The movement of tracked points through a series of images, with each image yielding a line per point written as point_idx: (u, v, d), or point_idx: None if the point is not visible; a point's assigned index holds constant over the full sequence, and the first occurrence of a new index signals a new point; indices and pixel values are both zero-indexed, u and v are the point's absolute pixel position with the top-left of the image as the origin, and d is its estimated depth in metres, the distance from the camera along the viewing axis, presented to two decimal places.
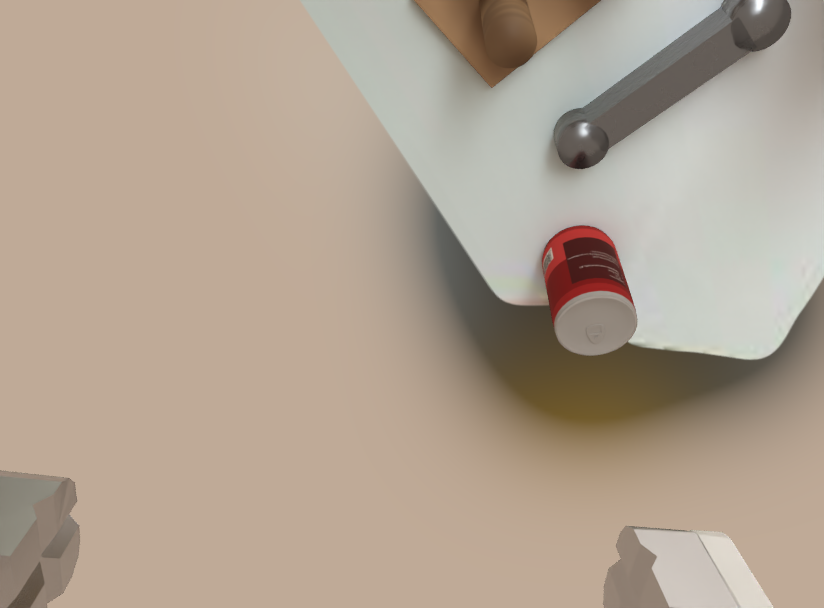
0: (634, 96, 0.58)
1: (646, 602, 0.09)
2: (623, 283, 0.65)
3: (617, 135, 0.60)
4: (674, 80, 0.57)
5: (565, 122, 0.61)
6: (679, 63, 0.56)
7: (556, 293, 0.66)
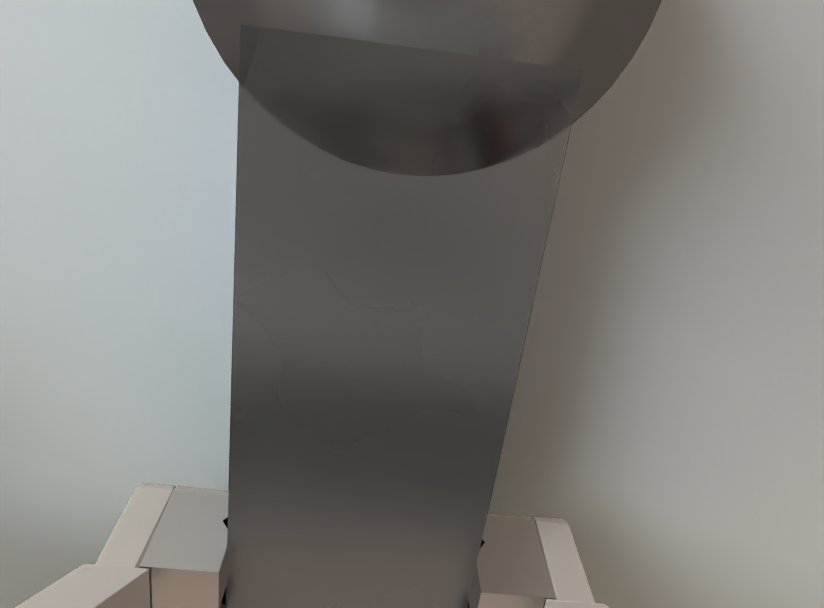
0: None
1: (471, 588, 0.09)
2: None
3: None
4: (335, 551, 0.09)
5: None
6: (255, 482, 0.08)
7: None
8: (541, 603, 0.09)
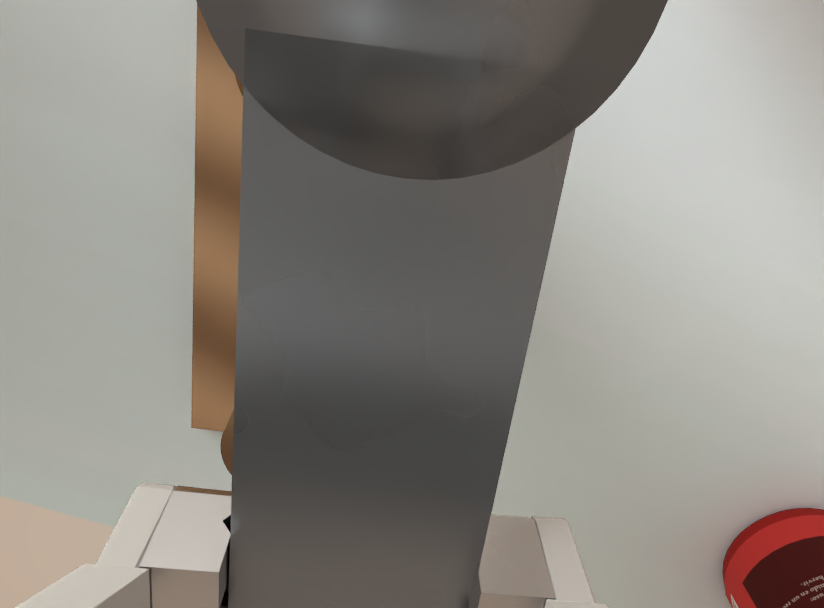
0: None
1: (471, 588, 0.09)
2: None
3: None
4: (339, 553, 0.09)
5: None
6: (258, 485, 0.08)
7: None
8: (541, 603, 0.09)
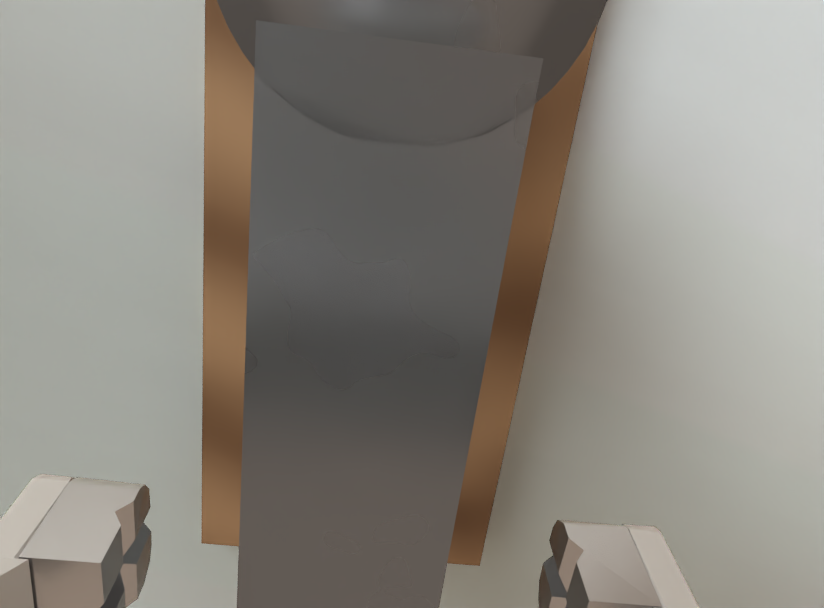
0: None
1: (572, 596, 0.09)
2: None
3: None
4: (337, 482, 0.10)
5: None
6: (265, 419, 0.10)
7: None
8: None
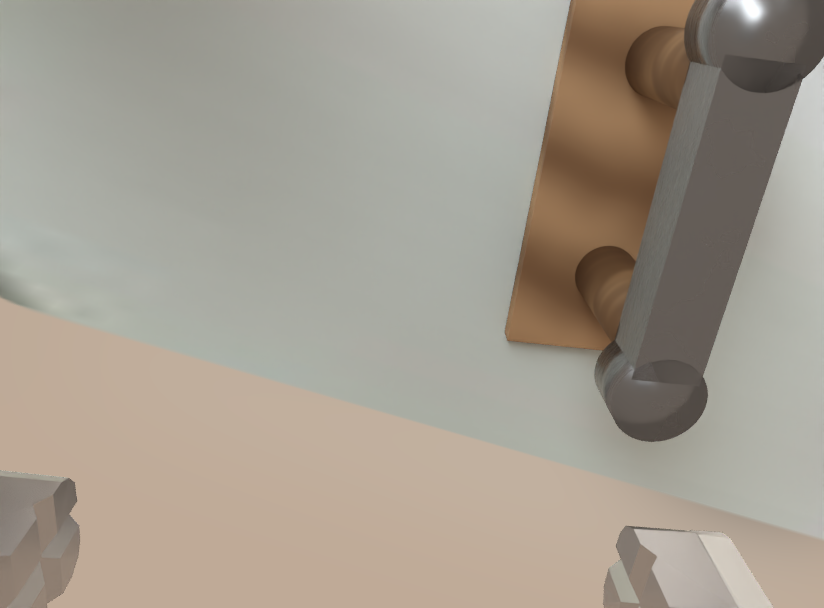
0: (668, 284, 0.29)
1: (646, 601, 0.09)
2: None
3: (698, 350, 0.31)
4: (712, 215, 0.28)
5: (603, 381, 0.33)
6: (693, 189, 0.28)
7: None
8: None
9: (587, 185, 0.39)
